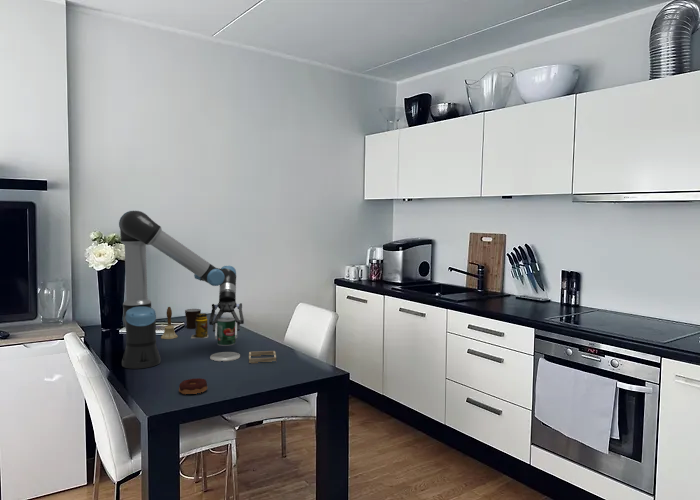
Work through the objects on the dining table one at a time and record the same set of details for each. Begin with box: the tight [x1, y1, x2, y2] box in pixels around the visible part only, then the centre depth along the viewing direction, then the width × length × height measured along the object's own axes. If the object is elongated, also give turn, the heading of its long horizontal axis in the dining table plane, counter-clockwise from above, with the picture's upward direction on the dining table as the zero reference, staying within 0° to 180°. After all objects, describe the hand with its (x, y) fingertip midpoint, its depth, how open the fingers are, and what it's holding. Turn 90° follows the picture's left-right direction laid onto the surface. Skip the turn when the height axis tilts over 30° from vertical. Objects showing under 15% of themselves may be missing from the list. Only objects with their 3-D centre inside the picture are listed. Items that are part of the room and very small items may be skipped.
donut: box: [178, 377, 208, 395], centre depth 180 cm, size 10×10×4 cm
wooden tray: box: [248, 350, 277, 364], centre depth 221 cm, size 12×12×2 cm
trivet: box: [209, 351, 241, 362], centre depth 224 cm, size 13×13×1 cm
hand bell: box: [160, 306, 178, 340], centre depth 258 cm, size 8×8×16 cm
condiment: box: [190, 312, 209, 339], centre depth 261 cm, size 7×8×12 cm
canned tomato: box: [216, 317, 236, 347], centre depth 223 cm, size 8×8×11 cm
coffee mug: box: [184, 308, 202, 330], centre depth 283 cm, size 12×9×10 cm
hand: (226, 337), depth 220 cm, fingers closed on canned tomato, 8 cm apart
